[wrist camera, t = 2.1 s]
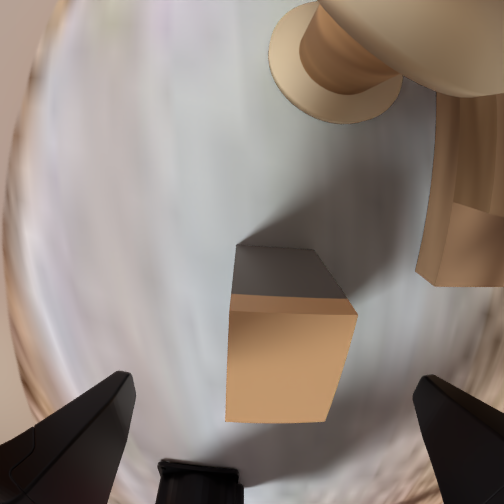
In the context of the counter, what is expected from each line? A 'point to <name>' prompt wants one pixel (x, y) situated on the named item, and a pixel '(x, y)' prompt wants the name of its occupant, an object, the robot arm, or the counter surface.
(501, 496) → the robot arm
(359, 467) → the counter surface
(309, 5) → the door knob
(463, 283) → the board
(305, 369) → the block
